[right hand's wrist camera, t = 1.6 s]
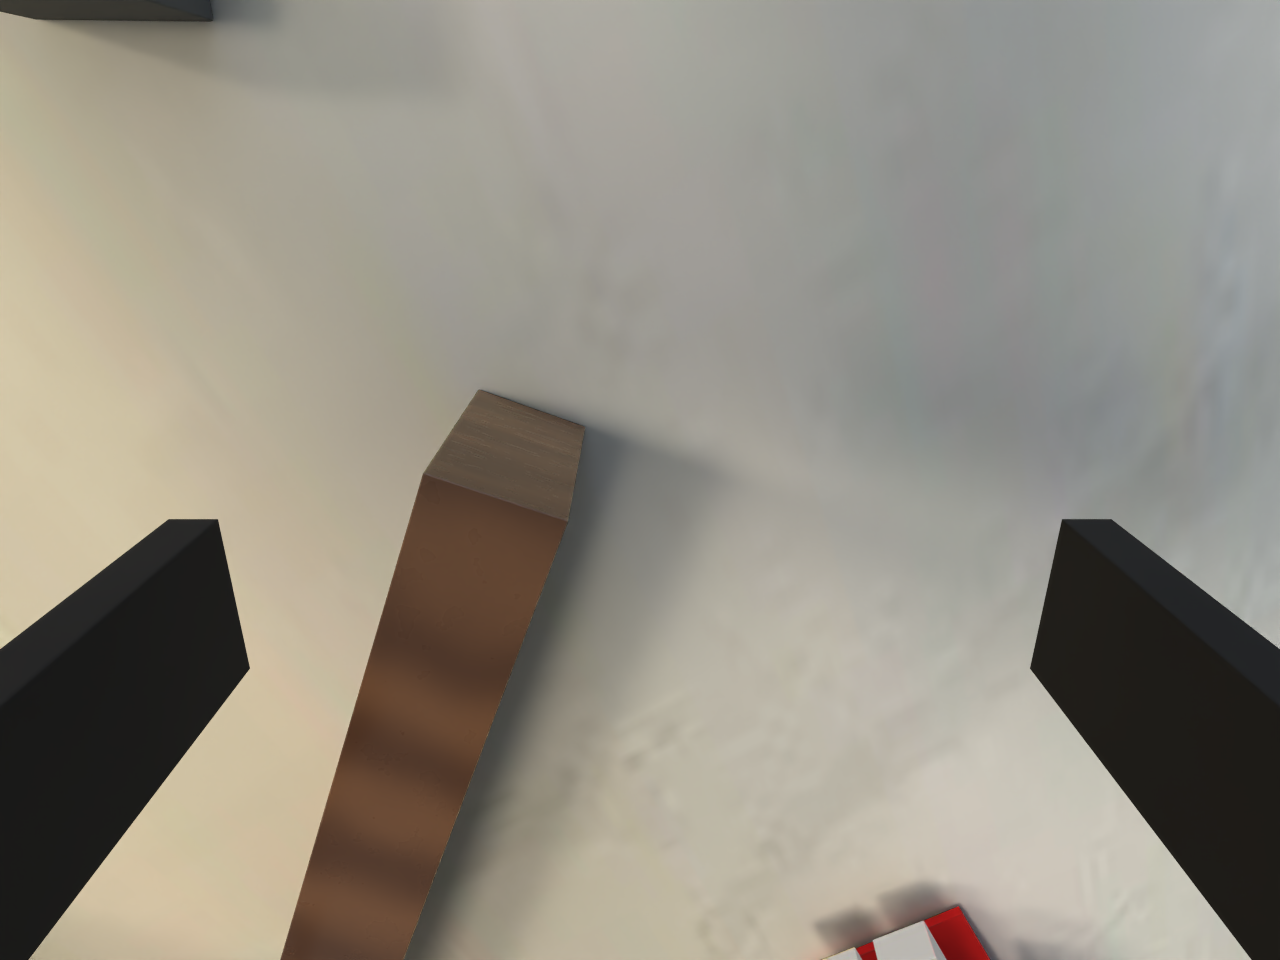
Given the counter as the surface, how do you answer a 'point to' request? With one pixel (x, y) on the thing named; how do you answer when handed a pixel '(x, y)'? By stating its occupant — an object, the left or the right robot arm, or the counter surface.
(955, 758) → the counter surface
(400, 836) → the walnut bar
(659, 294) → the counter surface
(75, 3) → the grey block
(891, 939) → the toy
